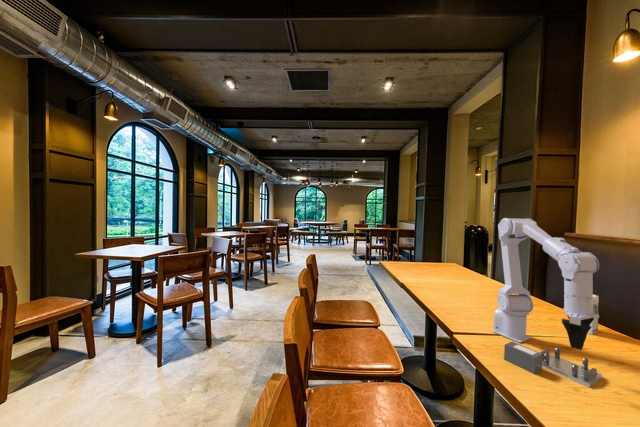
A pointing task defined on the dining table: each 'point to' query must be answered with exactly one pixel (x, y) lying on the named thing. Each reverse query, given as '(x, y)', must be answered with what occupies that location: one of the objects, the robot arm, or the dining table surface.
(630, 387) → the dining table surface
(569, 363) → the pin tray
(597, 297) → the syrup box
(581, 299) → the robot arm
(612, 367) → the dining table surface
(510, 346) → the block
